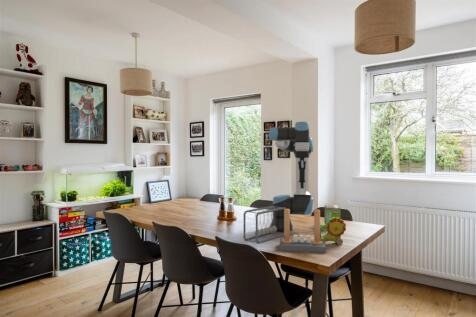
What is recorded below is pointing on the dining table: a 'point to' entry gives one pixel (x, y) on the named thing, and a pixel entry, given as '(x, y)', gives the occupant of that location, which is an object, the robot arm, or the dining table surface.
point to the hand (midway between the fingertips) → (302, 194)
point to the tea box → (331, 212)
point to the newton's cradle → (265, 230)
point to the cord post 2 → (317, 228)
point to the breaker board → (302, 247)
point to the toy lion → (333, 230)
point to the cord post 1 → (287, 227)
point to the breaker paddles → (302, 239)
